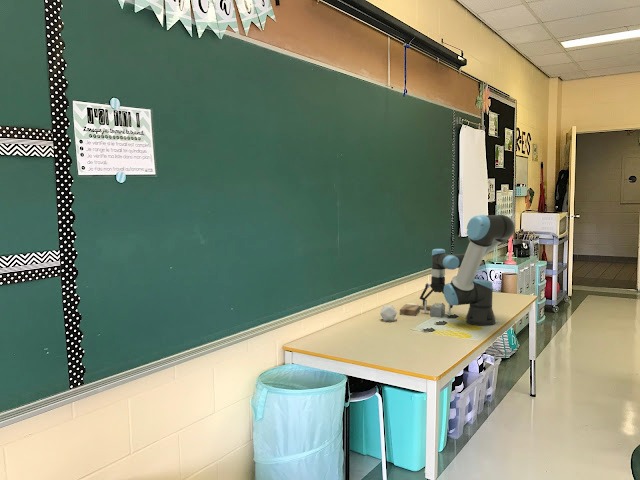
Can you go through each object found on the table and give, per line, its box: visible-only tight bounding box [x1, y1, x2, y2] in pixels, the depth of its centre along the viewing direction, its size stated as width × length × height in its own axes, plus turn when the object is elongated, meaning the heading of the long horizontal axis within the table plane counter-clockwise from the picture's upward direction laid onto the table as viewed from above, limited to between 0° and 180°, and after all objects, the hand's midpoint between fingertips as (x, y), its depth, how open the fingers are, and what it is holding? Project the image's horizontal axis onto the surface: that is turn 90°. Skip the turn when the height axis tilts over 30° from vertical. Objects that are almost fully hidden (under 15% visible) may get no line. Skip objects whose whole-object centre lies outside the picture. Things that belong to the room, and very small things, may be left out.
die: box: [380, 304, 398, 322], centre depth 276 cm, size 8×9×10 cm
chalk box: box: [405, 302, 420, 306], centre depth 302 cm, size 8×4×3 cm, turn 58°
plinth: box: [399, 304, 421, 317], centre depth 293 cm, size 9×13×3 cm
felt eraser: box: [419, 304, 432, 312], centre depth 299 cm, size 12×4×3 cm, turn 55°
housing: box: [429, 302, 446, 318], centre depth 286 cm, size 6×10×6 cm, turn 153°
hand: (437, 312), depth 287 cm, fingers open, 13 cm apart
